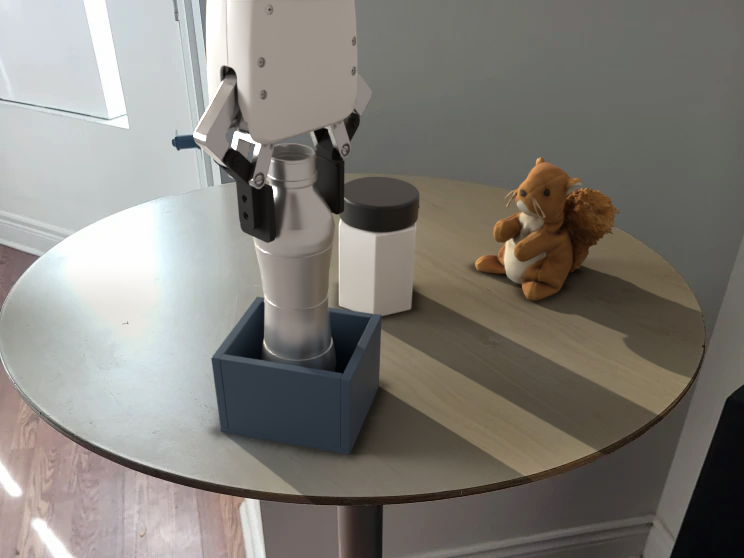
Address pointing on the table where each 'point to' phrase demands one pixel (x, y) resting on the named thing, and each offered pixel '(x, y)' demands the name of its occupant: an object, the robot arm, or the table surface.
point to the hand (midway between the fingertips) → (293, 220)
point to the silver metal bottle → (297, 264)
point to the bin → (298, 384)
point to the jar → (377, 245)
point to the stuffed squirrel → (548, 230)
